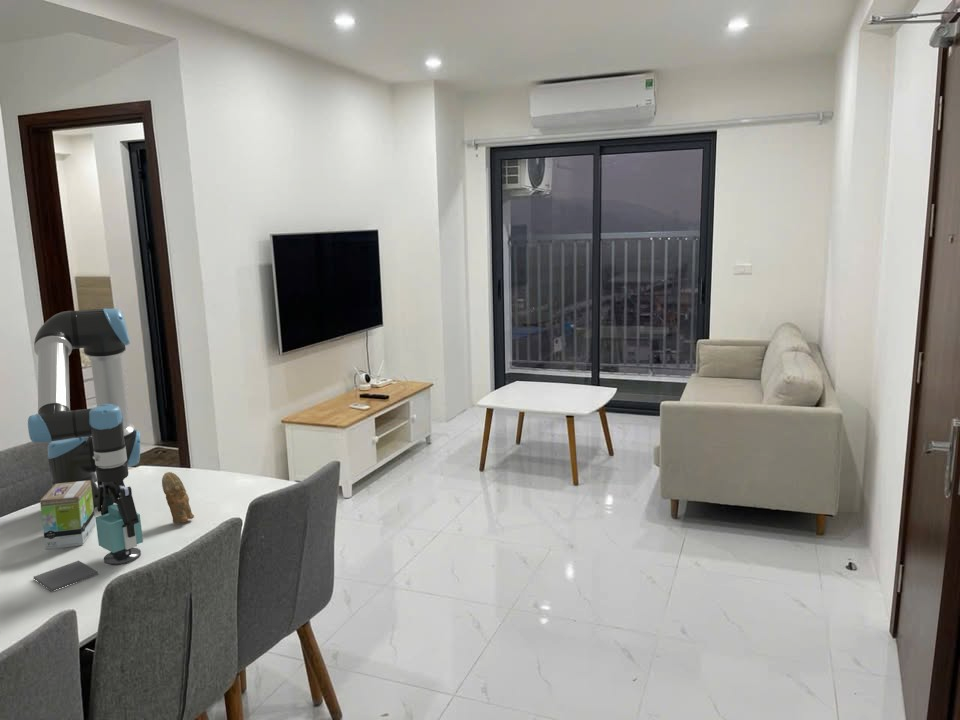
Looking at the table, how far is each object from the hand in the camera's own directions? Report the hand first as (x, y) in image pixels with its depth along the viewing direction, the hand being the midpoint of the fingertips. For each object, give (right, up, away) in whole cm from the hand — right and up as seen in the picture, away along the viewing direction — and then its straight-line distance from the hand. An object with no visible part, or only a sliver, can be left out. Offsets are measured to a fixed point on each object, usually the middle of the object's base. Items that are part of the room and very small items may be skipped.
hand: (120, 542), depth 191 cm
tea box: (-22, -3, +15) cm, 26 cm away
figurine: (+6, 0, +25) cm, 26 cm away
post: (0, -4, +1) cm, 4 cm away
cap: (0, 0, 0) cm, 0 cm away
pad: (-9, -6, -10) cm, 15 cm away
